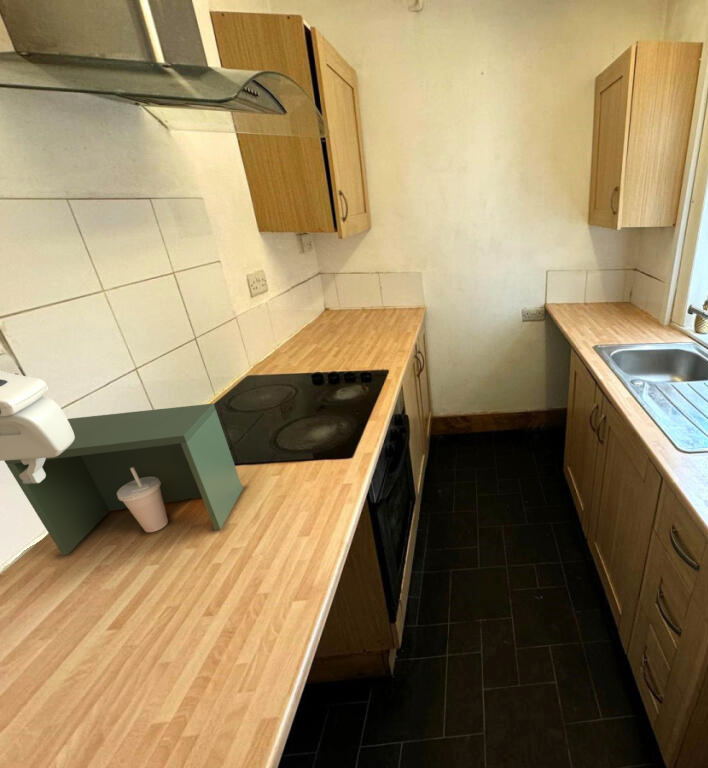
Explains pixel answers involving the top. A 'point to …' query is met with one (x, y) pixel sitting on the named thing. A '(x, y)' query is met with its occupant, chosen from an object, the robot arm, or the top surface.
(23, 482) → the robot arm
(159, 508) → the smoothie
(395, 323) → the top surface
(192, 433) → the cupboard
